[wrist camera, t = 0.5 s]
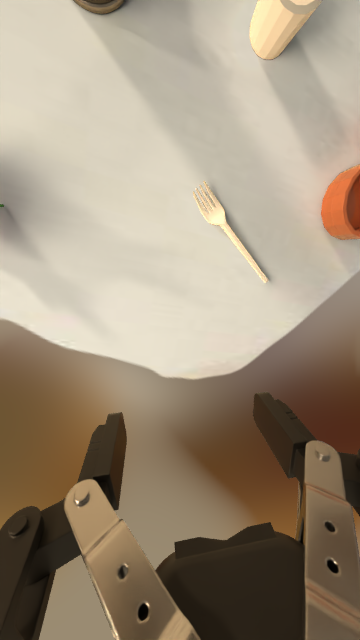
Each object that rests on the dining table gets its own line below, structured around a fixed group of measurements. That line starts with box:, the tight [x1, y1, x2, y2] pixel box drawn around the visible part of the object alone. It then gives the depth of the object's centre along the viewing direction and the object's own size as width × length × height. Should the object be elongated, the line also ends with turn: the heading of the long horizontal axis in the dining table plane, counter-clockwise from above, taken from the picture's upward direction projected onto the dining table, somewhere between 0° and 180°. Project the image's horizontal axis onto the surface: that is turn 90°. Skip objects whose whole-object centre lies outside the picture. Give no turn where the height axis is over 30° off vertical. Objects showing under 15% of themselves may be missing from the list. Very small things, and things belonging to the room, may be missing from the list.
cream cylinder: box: [250, 0, 322, 59], centre depth 26 cm, size 7×7×7 cm
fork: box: [193, 181, 268, 283], centre depth 36 cm, size 3×20×2 cm, turn 43°
